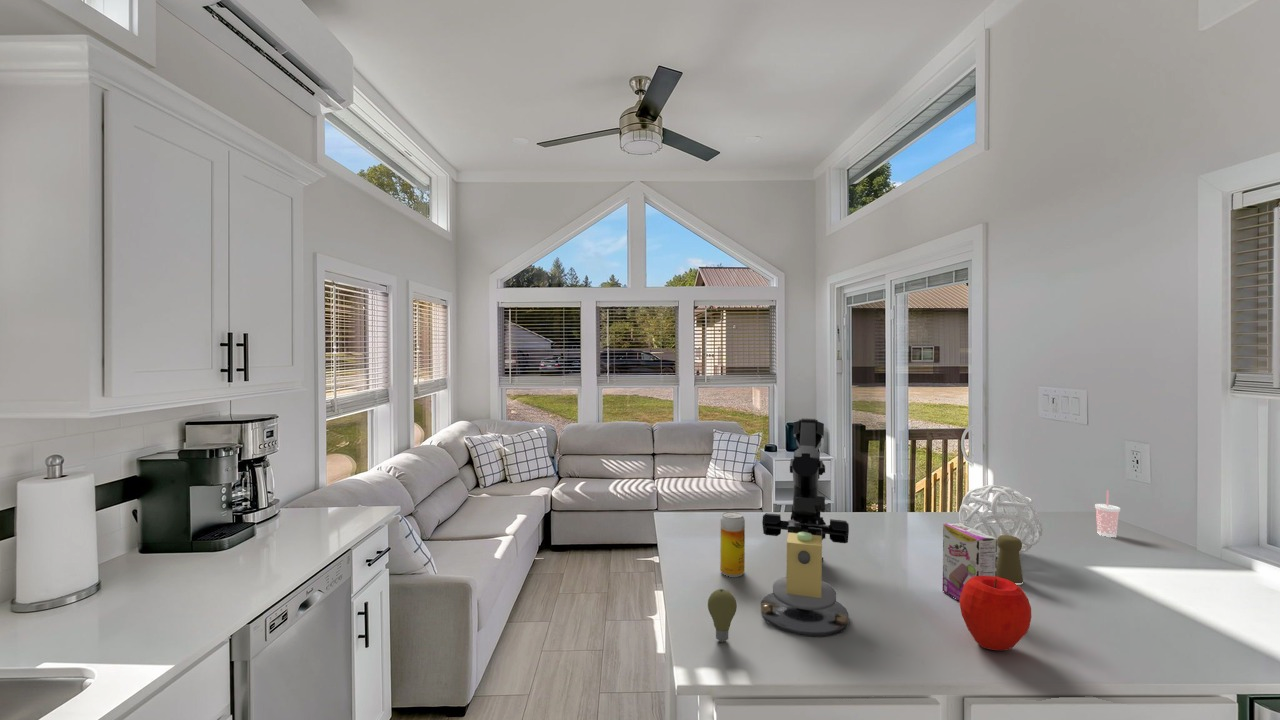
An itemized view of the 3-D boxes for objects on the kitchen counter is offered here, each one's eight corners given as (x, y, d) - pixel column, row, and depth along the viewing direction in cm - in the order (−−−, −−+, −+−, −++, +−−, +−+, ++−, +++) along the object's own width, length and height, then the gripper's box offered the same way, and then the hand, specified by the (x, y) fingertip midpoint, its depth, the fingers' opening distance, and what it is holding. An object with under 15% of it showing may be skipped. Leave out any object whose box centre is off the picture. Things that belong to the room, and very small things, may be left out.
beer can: (744, 579, 138) (744, 519, 138) (719, 577, 139) (719, 517, 139) (744, 569, 144) (744, 511, 144) (720, 567, 145) (721, 510, 145)
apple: (1003, 670, 99) (1004, 596, 99) (944, 639, 110) (945, 571, 110) (1044, 656, 104) (1046, 585, 104) (984, 627, 115) (985, 563, 115)
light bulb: (704, 634, 111) (705, 584, 111) (732, 633, 112) (732, 583, 112) (710, 649, 106) (711, 597, 105) (739, 648, 106) (740, 596, 106)
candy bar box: (940, 592, 132) (941, 522, 131) (959, 590, 132) (960, 522, 132) (976, 614, 121) (978, 538, 120) (997, 612, 121) (998, 537, 121)
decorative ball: (1053, 573, 143) (1055, 499, 143) (965, 563, 149) (967, 492, 149) (1027, 547, 162) (1028, 482, 162) (950, 539, 168) (951, 476, 168)
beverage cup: (1089, 531, 177) (1090, 487, 177) (1110, 532, 176) (1111, 488, 176) (1102, 537, 171) (1103, 492, 171) (1124, 538, 170) (1125, 493, 170)
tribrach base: (765, 590, 132) (765, 576, 131) (846, 601, 126) (846, 586, 126) (756, 628, 114) (756, 611, 114) (850, 643, 108) (851, 625, 108)
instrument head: (775, 578, 128) (775, 521, 127) (835, 585, 124) (836, 527, 123) (770, 604, 115) (770, 542, 115) (837, 614, 111) (837, 549, 111)
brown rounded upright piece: (1020, 578, 140) (1021, 534, 140) (1025, 587, 135) (1026, 542, 134) (992, 573, 143) (993, 531, 142) (996, 582, 137) (997, 538, 137)
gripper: (763, 478, 130) (758, 540, 120) (848, 485, 124) (851, 550, 114) (766, 504, 138) (761, 564, 127) (846, 511, 132) (848, 575, 121)
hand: (803, 563), depth 122 cm, fingers closed, pressing on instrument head
